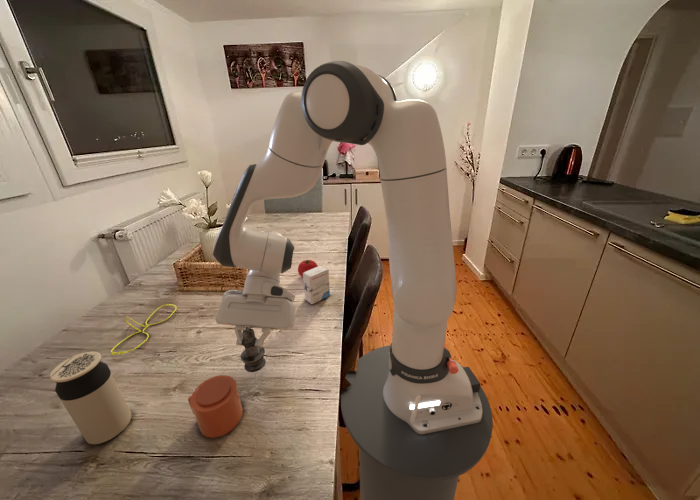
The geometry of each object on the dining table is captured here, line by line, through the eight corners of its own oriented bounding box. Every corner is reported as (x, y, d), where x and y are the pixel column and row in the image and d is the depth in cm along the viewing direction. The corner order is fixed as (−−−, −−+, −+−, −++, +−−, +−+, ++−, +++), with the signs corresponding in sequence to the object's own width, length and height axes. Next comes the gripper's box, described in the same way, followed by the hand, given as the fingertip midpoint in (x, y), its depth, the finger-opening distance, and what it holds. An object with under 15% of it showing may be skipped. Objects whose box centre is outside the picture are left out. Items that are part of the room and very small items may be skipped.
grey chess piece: (262, 352, 76) (254, 316, 71) (270, 365, 72) (262, 327, 67) (240, 362, 73) (230, 325, 68) (247, 377, 69) (237, 338, 64)
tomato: (317, 281, 118) (316, 264, 115) (296, 281, 118) (294, 264, 115) (320, 271, 126) (318, 255, 123) (300, 271, 126) (298, 255, 123)
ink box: (322, 291, 111) (320, 264, 106) (330, 296, 107) (329, 268, 103) (304, 299, 106) (301, 272, 101) (312, 305, 102) (309, 277, 97)
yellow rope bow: (131, 357, 80) (125, 344, 79) (98, 357, 81) (92, 344, 79) (182, 306, 103) (178, 295, 101) (156, 306, 104) (152, 295, 102)
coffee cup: (248, 399, 67) (241, 372, 63) (233, 437, 59) (225, 409, 55) (205, 399, 67) (196, 373, 64) (184, 437, 59) (172, 409, 55)
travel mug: (140, 410, 65) (112, 350, 58) (112, 445, 58) (76, 382, 51) (107, 409, 65) (75, 350, 58) (75, 445, 58) (34, 381, 51)
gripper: (218, 286, 73) (203, 341, 68) (293, 290, 70) (283, 349, 65) (231, 291, 79) (218, 343, 74) (300, 296, 75) (292, 350, 70)
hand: (249, 346), depth 69 cm, fingers closed on grey chess piece, 3 cm apart
